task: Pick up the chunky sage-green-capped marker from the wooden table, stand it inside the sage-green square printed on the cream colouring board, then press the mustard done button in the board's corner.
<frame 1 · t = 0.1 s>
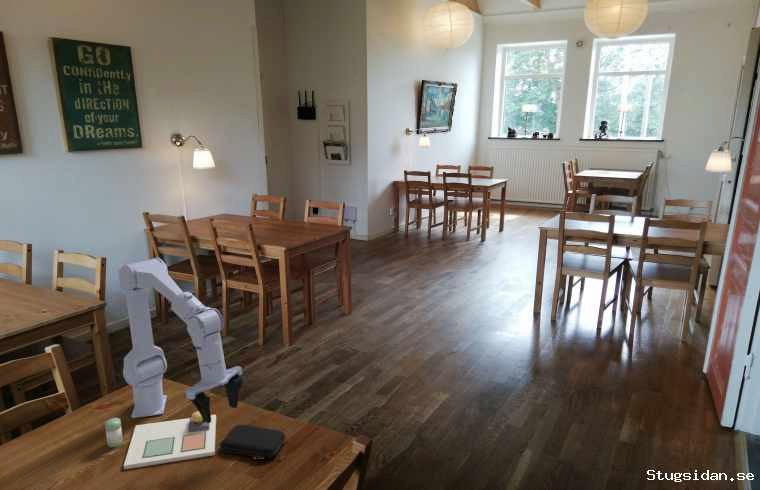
hand: (220, 414, 119), 11 cm above the table, tool pointing down, fingers open, 7 cm apart
colouring board: (173, 441, 125), on the table
carrying case or bag: (252, 448, 124), on the table
done button: (199, 417, 130), point 3 cm above the table, slide at 0.0 cm
marker: (115, 443, 124), on the table
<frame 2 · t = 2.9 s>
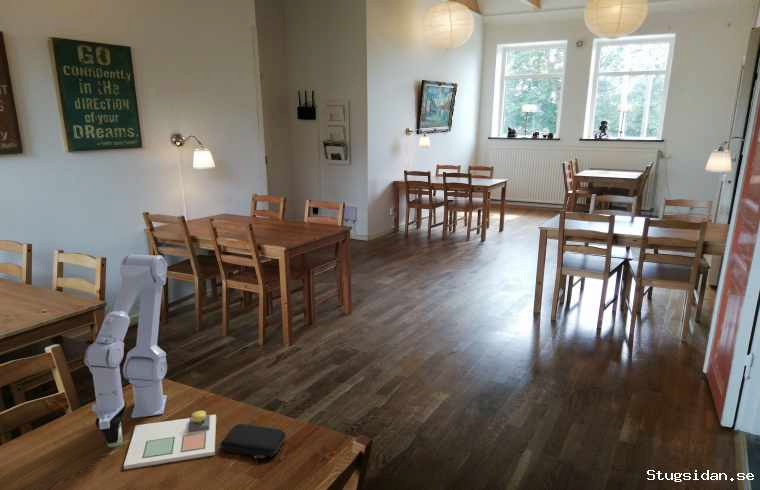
hand: (114, 437, 123), 2 cm above the table, tool pointing down, fingers closed on marker, 3 cm apart
marker: (115, 443, 124), on the table, touching gripper
everything else where it was.
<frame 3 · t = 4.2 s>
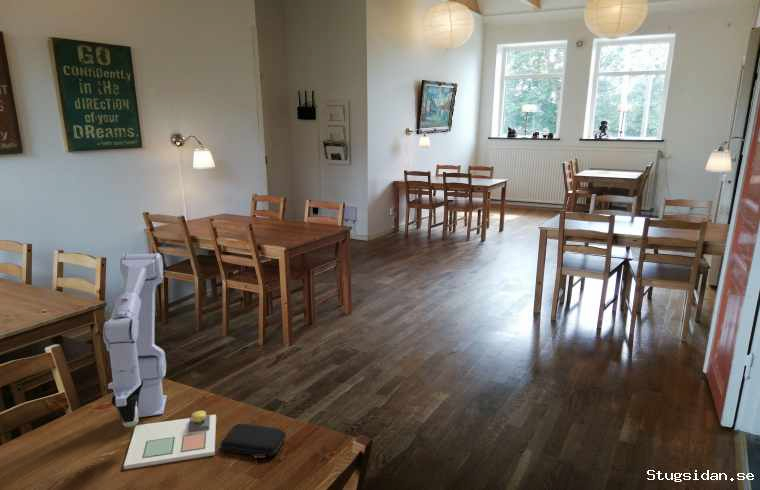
hand: (130, 416, 121), 8 cm above the table, tool pointing down, fingers closed on marker, 3 cm apart
marker: (130, 422, 121), point 7 cm above the table, touching gripper
everything else where it was.
when the fingers open (4 cm above the table, at t = 5.7 s): marker drops 1 cm, resting on colouring board.
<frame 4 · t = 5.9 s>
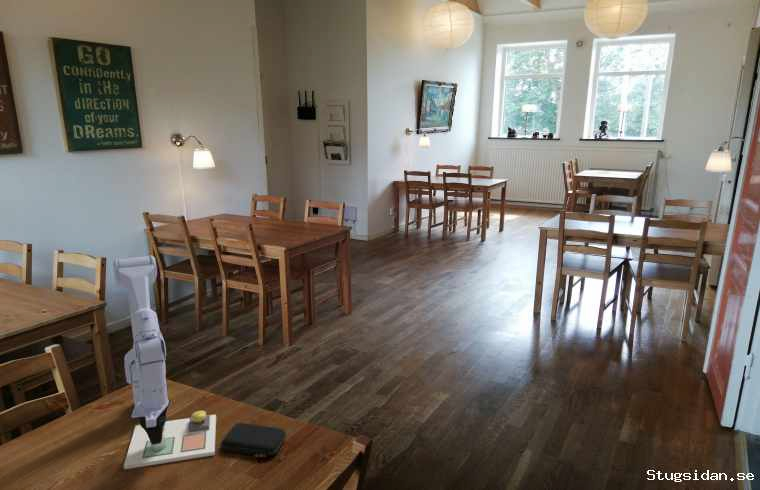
hand: (158, 435, 120), 4 cm above the table, tool pointing down, fingers open, 5 cm apart
marker: (158, 446, 121), point 1 cm above the table, touching colouring board
everything else where it was.
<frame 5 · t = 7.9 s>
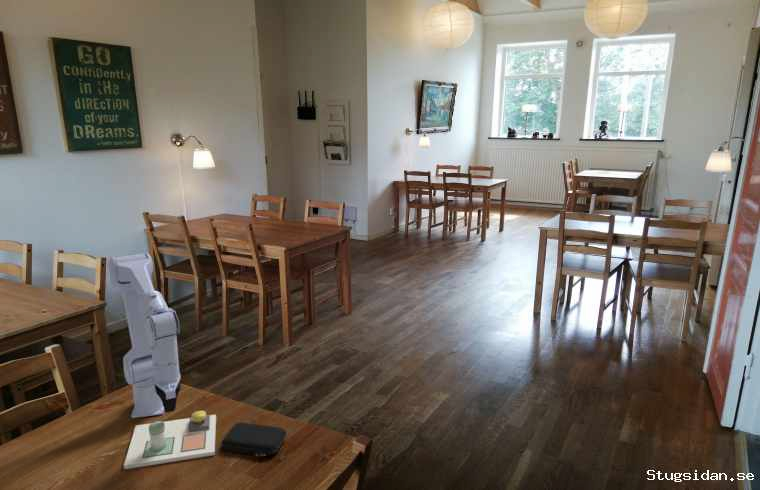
hand: (169, 410, 122), 9 cm above the table, tool pointing down, fingers closed
nothing on the table moved.
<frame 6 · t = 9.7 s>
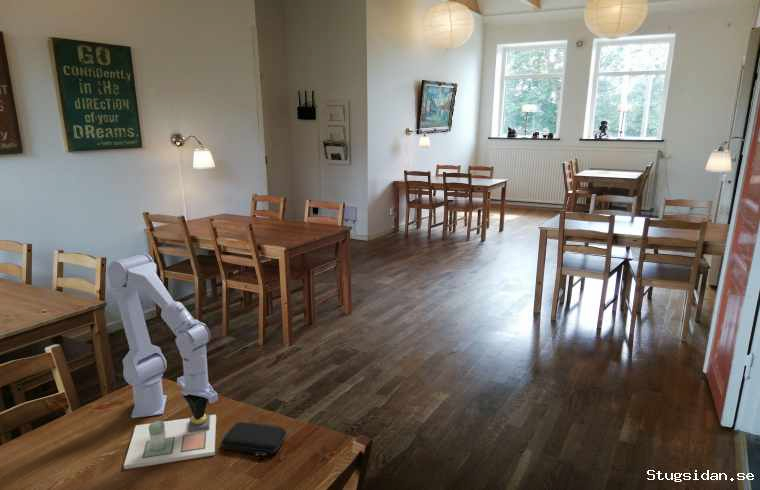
hand: (199, 417, 130), 3 cm above the table, tool pointing down, fingers closed, pressing on done button
done button: (199, 420, 130), point 2 cm above the table, slide at 0.7 cm, touching gripper
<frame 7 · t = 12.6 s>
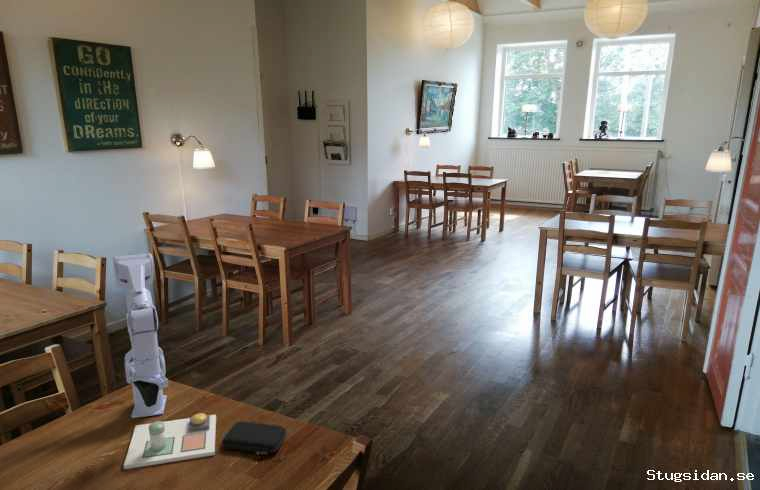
hand: (150, 404, 124), 9 cm above the table, tool pointing down, fingers closed
done button: (199, 420, 130), point 2 cm above the table, slide at 0.8 cm
at the end: marker 0.1 cm from the target spot on the colouring board, point 1.1 cm above the colouring board's base; marker tilted 0°; done button slide at 0.8 cm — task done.
